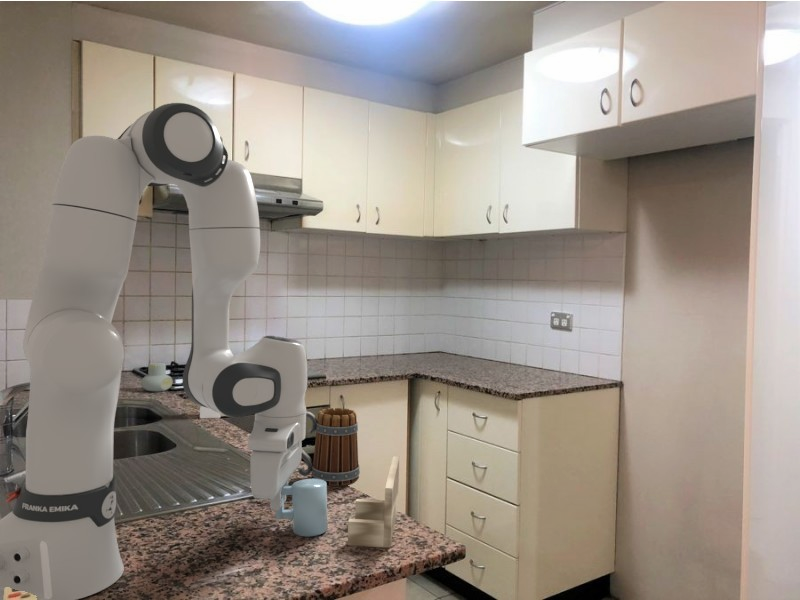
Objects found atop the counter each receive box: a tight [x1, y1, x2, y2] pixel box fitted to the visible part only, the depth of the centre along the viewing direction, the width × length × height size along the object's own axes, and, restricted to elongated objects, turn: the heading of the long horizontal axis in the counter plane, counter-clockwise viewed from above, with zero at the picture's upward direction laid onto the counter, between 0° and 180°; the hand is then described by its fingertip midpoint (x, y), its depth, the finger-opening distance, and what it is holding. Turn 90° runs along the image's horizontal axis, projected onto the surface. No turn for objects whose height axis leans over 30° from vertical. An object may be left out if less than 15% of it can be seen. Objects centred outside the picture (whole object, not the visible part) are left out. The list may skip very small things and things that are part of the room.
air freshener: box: [140, 361, 174, 393], centre depth 224 cm, size 11×8×10 cm
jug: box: [274, 478, 329, 537], centre depth 108 cm, size 9×6×8 cm, turn 86°
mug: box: [297, 407, 360, 488], centre depth 134 cm, size 16×11×15 cm
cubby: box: [347, 455, 400, 549], centre depth 111 cm, size 7×18×10 cm, turn 176°
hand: (278, 505), depth 108 cm, fingers closed on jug
